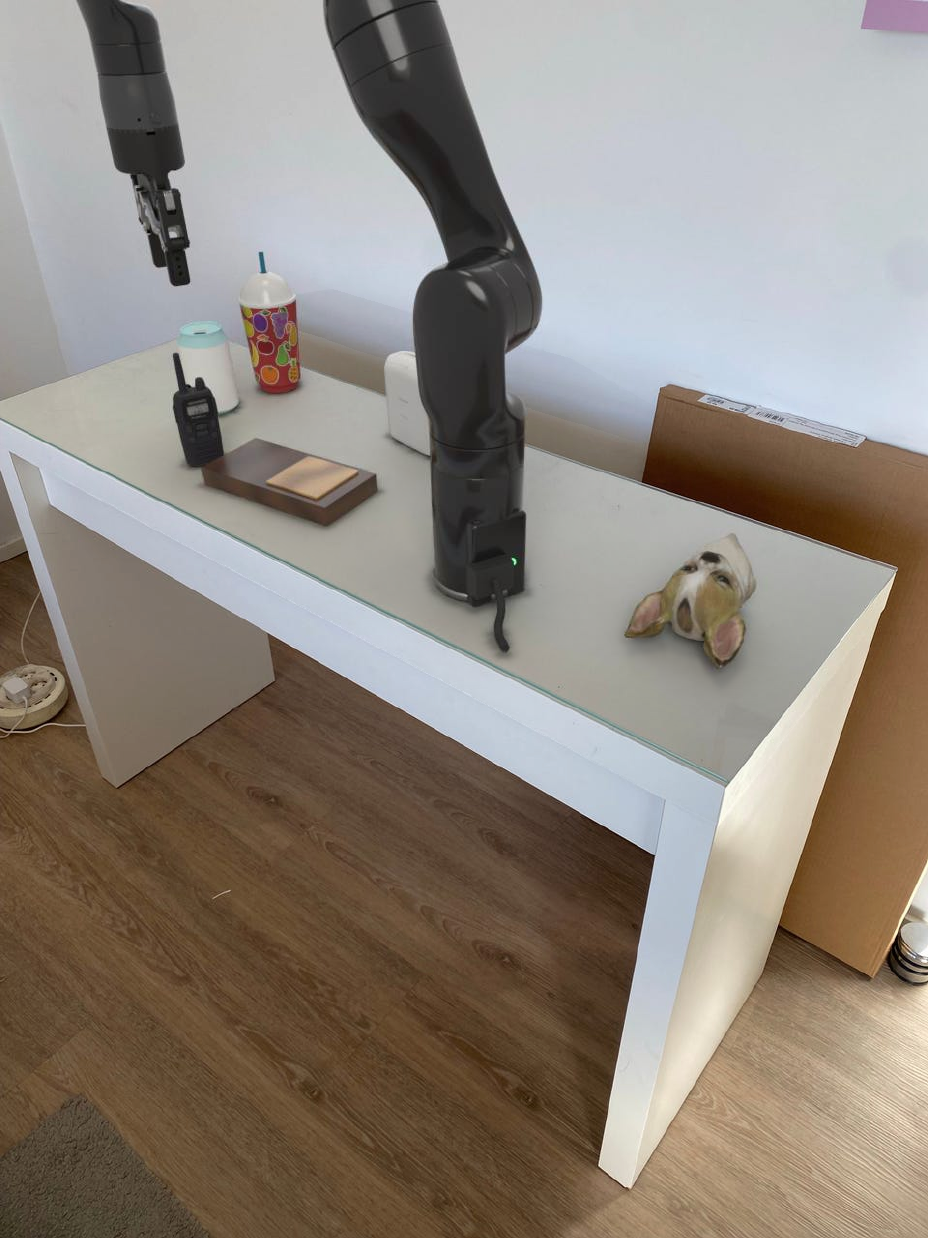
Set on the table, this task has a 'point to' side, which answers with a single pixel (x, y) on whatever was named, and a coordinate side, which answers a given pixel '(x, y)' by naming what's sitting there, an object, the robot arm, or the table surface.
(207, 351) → the can
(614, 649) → the table surface
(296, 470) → the walnut board
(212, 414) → the two-way radio
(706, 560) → the ceramic sculpture
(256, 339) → the smoothie
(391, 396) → the photo printer
